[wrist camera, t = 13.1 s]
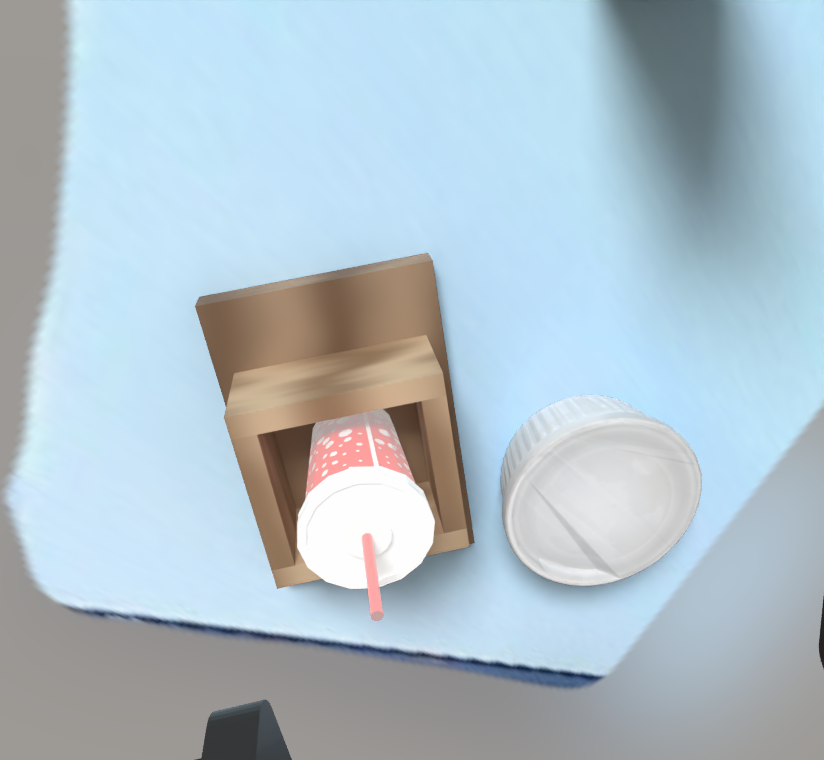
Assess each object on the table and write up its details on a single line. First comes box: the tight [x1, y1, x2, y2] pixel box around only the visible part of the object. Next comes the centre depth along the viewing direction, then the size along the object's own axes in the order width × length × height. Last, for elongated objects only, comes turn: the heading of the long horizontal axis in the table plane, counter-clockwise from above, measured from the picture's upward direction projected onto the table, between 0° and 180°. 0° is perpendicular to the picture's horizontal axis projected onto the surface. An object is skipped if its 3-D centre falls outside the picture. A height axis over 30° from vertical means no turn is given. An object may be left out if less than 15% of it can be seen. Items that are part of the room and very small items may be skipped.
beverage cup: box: [297, 409, 435, 621], centre depth 33 cm, size 6×6×14 cm
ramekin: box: [501, 395, 702, 586], centre depth 41 cm, size 11×11×5 cm
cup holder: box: [195, 253, 474, 589], centre depth 38 cm, size 12×18×6 cm, turn 9°
